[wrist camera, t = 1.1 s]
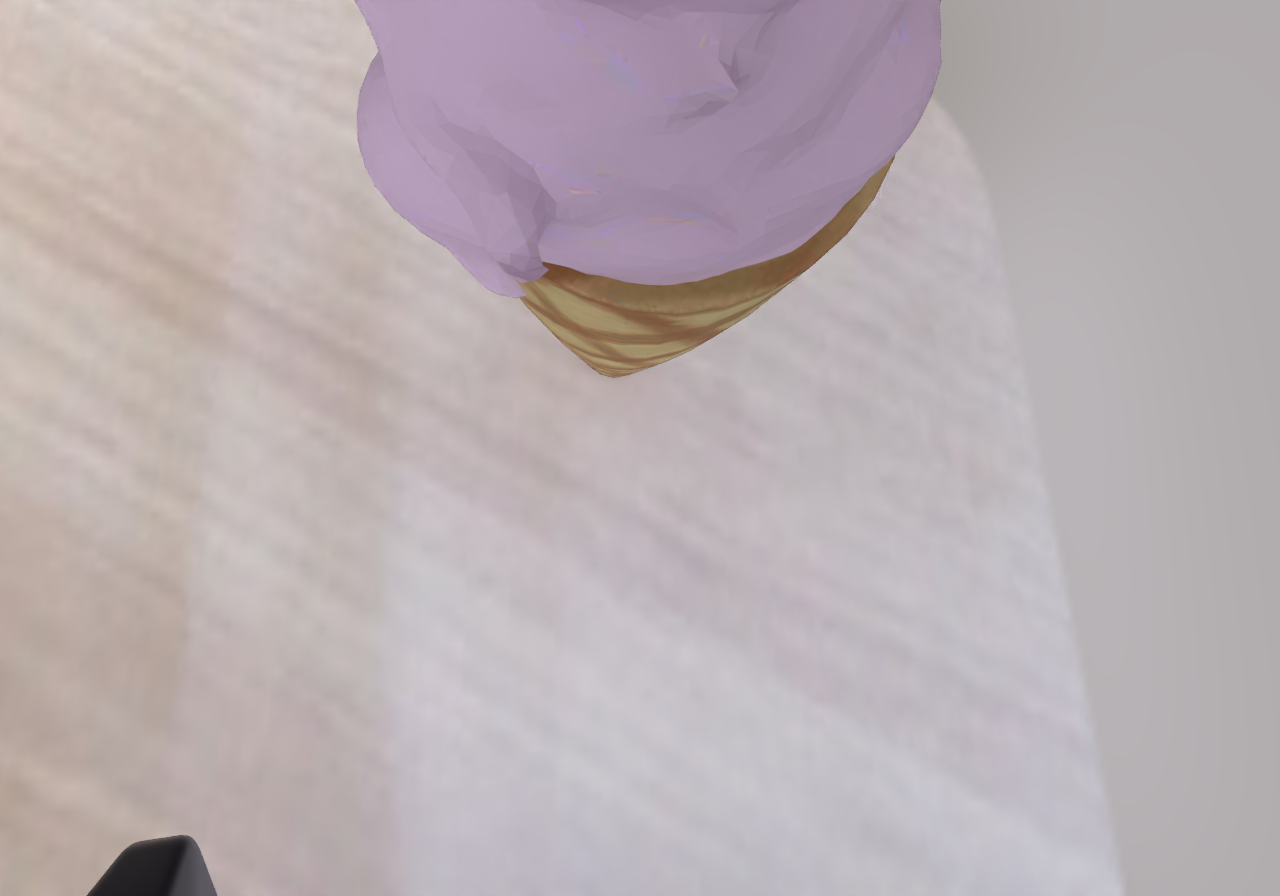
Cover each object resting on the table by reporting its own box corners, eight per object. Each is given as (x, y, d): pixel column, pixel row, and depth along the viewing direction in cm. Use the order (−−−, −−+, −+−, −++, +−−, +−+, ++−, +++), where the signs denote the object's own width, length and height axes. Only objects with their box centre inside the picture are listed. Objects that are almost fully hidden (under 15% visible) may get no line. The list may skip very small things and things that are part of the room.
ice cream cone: (601, 569, 22) (706, 285, 7) (377, 367, 23) (71, -259, 8) (810, 339, 24) (1233, -269, 9) (595, 156, 24) (665, -690, 10)
